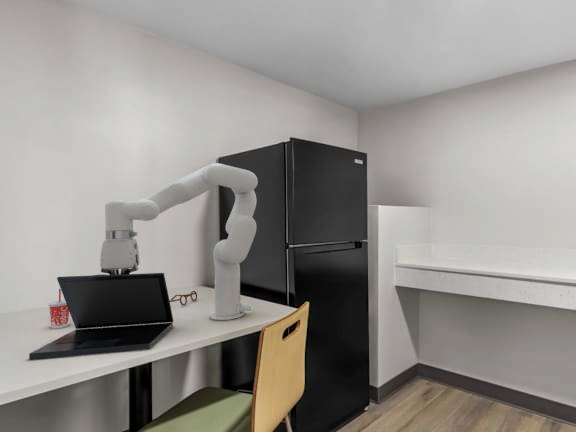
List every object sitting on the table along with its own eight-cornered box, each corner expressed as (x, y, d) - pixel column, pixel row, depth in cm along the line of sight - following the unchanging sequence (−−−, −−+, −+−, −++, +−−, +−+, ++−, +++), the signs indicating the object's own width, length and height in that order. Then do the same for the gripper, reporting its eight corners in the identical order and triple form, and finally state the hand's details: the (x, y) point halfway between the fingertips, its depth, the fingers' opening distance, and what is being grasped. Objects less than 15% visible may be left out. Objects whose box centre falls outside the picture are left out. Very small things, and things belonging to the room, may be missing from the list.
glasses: (181, 307, 155) (181, 296, 155) (153, 307, 155) (153, 296, 155) (197, 300, 168) (197, 290, 168) (171, 300, 169) (171, 289, 169)
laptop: (149, 349, 106) (149, 343, 106) (29, 360, 98) (29, 353, 98) (172, 327, 127) (172, 322, 127) (75, 334, 119) (75, 329, 119)
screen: (163, 274, 117) (164, 272, 118) (56, 278, 109) (58, 276, 110) (172, 322, 127) (173, 320, 128) (75, 329, 119) (77, 327, 120)
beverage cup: (51, 330, 123) (51, 291, 124) (45, 327, 127) (45, 289, 127) (73, 325, 129) (73, 288, 129) (67, 323, 132) (67, 286, 132)
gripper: (148, 234, 124) (149, 285, 124) (100, 235, 120) (100, 288, 120) (139, 235, 116) (140, 289, 116) (87, 236, 113) (88, 292, 113)
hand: (120, 288), depth 118 cm, fingers closed
